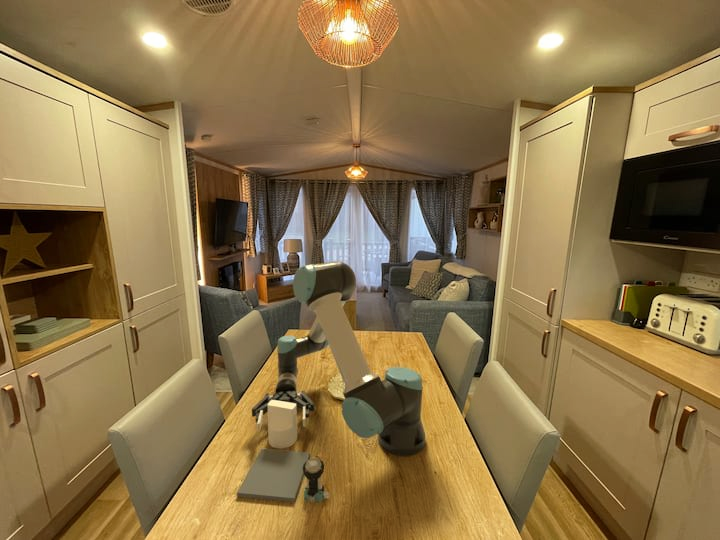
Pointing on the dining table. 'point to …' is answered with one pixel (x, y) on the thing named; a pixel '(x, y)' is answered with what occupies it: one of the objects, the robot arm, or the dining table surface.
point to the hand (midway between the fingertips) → (281, 425)
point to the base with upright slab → (282, 423)
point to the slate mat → (274, 475)
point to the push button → (314, 480)
